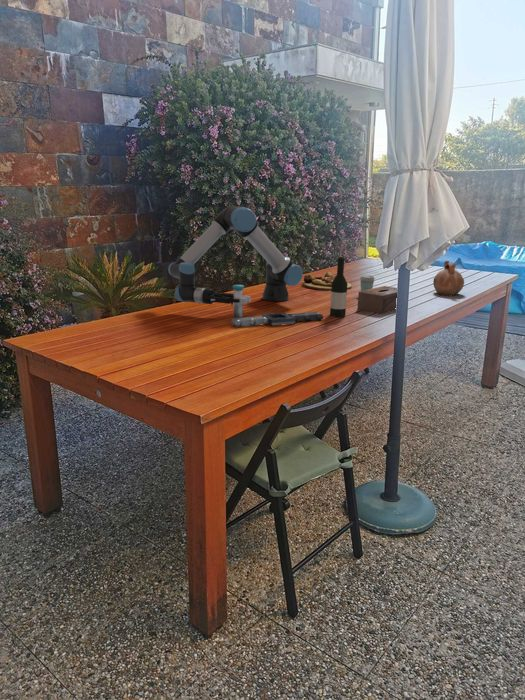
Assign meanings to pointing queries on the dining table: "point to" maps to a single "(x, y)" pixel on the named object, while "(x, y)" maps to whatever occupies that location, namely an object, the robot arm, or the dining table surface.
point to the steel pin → (237, 307)
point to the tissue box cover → (377, 299)
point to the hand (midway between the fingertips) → (248, 300)
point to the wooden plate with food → (320, 282)
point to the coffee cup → (366, 282)
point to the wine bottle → (339, 291)
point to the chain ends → (276, 319)
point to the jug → (448, 280)
